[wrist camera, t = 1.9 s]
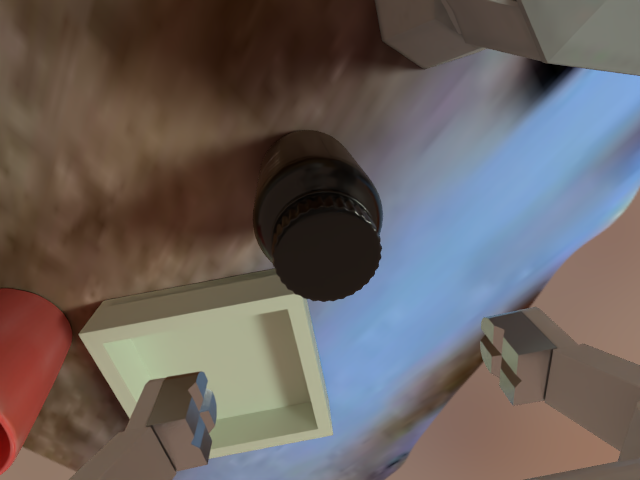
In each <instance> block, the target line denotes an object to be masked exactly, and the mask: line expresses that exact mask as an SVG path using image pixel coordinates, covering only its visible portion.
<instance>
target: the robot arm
mask: <svg viewBox="0 0 640 480" xmlns="http://www.w3.org/2000/svg"><path fill="white" fill-rule="evenodd" d="M481 329H482V331H483V332H484V333H485V336H484V337H483V338H482V339H481V353H482V357H483V360H484V362H485V365H486V367H487V368H488V370H489V371H490V373H492V374H493V375H495V376H497V377H499V378H500V385H499V386H500V387H501V389H502V390H503V392H504V393H505V395H506V396H507V398H508V399H509V401H510V402H511V403H512V405H514V406H515V405H521V404H527V403H533V402H539V401H545V403H547V404H548V405H550V406H551V407H553V408H554V409H556V410H557V411H559V412H561V413H562V414H563V415H565V416H567V417H568V418H570V419H571V420H573V421H574V422H576V423H578V424H579V425H580V426H582V427H584V428H585V429H587V430H588V431H590V432H592V433H593V434H594V435H596V436H597V437H599V438H600V439H602V440H604V441H605V442H607V443H608V444H610V445H611V446H613V447H614V448H616V449H618V450H619V451H620V452H621V453H620V456H619V459H618V462H613V463H607V464H602V465H597V466H592V467H588V468H582V469H577V470H571V471H566V472H562V473H556V474H551V475H546V476H540V477H535V478H531V479H525V480H640V365H638V364H635V363H632V362H630V361H627V360H625V359H622V358H620V357H617V356H614V355H612V354H609V353H606V352H604V351H602V350H599V349H596V348H594V347H591V346H589V345H586V344H580V345H578V344H577V343H576V342H575V341H574V340H573V339H572V338H571V337H570V336H569V335H568V334H566V333H565V332H564V331H563V330H562V329H561V328H560V327H559V326H558V325H557V324H556V323H555V322H554V321H552V320H551V319H550V318H549V317H548V316H547V315H546V314H545V313H544V312H543V311H542V310H540V309H539V308H537V307H533V308H528V309H523V310H518V311H514V312H509V313H504V314H499V315H494V316H489V317H484V318H483V320H482V322H481ZM207 383H208V379H207V377H206V375H205V373H204V372H202V371H199V372H193V373H187V374H181V375H175V376H169V377H166V378H159V379H153V380H149V381H148V382H147V383H146V384H145V386H144V388H143V391H142V393H141V395H140V397H139V400H138V402H137V404H136V406H135V409H134V411H133V413H132V415H131V418H130V420H129V422H128V424H127V427H126V429H125V431H124V432H119V433H118V434H117V435H116V436H115V437H114V438H112V439H111V440H110V441H109V442H108V443H107V444H106V445H105V446H104V447H103V448H102V449H101V450H100V451H99V452H98V453H97V454H95V455H94V456H93V457H92V458H91V459H90V460H89V461H88V462H87V463H86V464H85V465H84V466H83V467H82V468H81V469H79V470H78V471H77V472H76V473H75V475H73V476H72V477H71V478H70V479H69V480H172V479H173V477H174V476H175V475H176V471H180V470H185V469H189V468H194V467H198V466H203V465H207V464H208V460H209V455H210V450H211V445H212V439H211V437H210V435H209V433H210V432H211V430H212V429H213V428H214V427H215V424H216V418H217V405H216V400H215V396H214V394H213V392H212V391H211V390H209V389H207V388H206V387H207Z"/></svg>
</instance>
